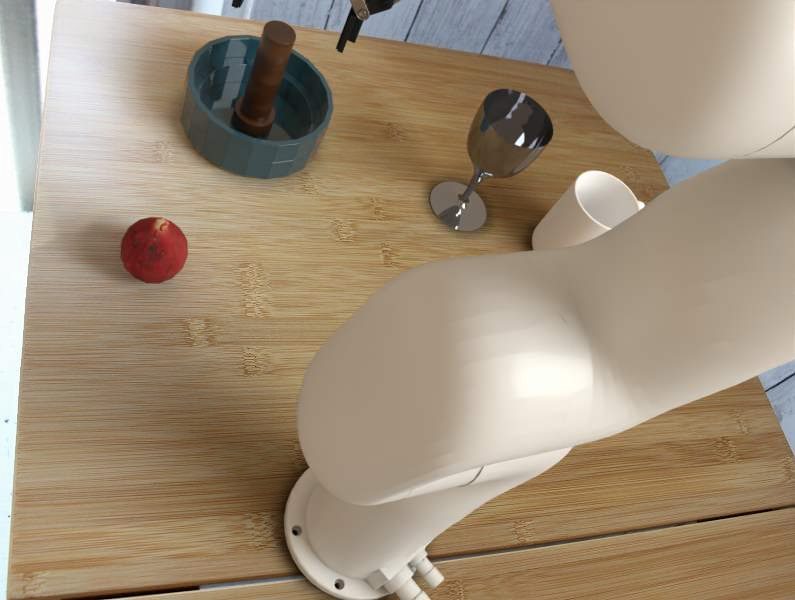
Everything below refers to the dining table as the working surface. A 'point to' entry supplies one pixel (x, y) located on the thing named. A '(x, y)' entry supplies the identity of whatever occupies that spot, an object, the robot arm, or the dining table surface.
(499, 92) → the wine glass
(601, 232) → the cup
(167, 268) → the red round fruit
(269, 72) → the pestle
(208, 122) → the bowl
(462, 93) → the dining table surface
